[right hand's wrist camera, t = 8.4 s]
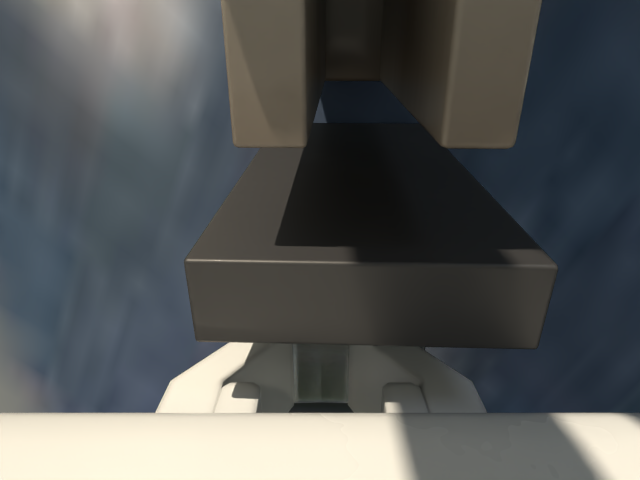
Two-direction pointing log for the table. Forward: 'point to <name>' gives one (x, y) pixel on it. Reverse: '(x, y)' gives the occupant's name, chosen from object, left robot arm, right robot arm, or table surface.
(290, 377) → the right robot arm
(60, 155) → the table surface
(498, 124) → the drawer
